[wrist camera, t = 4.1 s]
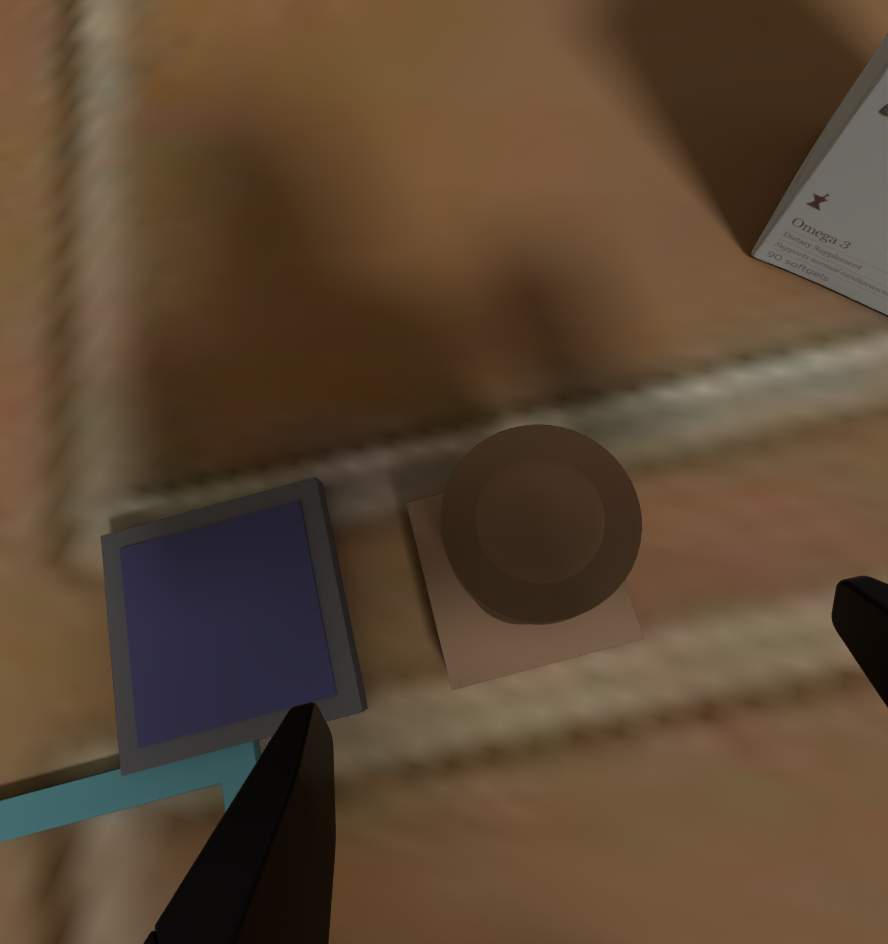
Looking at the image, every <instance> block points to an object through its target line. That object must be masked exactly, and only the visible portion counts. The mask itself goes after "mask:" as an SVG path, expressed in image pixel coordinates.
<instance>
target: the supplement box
mask: <svg viewBox="0 0 888 944" xmlns="http://www.w3.org/2000/svg"><path fill="white" fill-rule="evenodd" d="M751 255H752V256H753V257H755V258H757V259H760V260H762V261H765V262H767V263H770V264H773V265H776V266H778V267H781V268H783V269H785V270H788V271H790V272H793V273H795V274H797V275H800V276H802V277H805V278H807V279H809V280H811V281H814V282H816V283H818V284H821V285H823V286H825V287H827V288H829V289H832V290H834V291H836V292H838V293H840V294H843V295H845V296H847V297H849V298H851V299H853V300H855V301H858V302H860V303H862V304H864V305H866V306H868V307H870V308H872V309H875V310H877V311H880V312H882V313H884V314H886V315H888V34H887V35H886V37H885V38H884V40H883V41H882V43H881V44H880V46H879V47H878V49H877V50H876V51H875V53H874V54H873V56H872V57H871V59H870V60H869V62H868V63H867V65H866V66H865V68H864V69H863V71H862V72H861V74H860V75H859V77H858V78H857V80H856V81H855V83H854V84H853V86H852V87H851V89H850V90H849V92H848V93H847V95H846V96H845V98H844V99H843V101H842V102H841V104H840V105H839V107H838V108H837V110H836V111H835V113H834V114H833V116H832V117H831V119H830V121H829V122H828V124H827V125H826V127H825V128H824V130H823V132H822V133H821V135H820V136H819V138H818V139H817V141H816V143H815V144H814V146H813V147H812V149H811V151H810V152H809V154H808V156H807V157H806V159H805V160H804V162H803V164H802V165H801V167H800V169H799V170H798V172H797V174H796V175H795V177H794V179H793V180H792V182H791V184H790V185H789V187H788V189H787V191H786V192H785V194H784V196H783V198H782V199H781V201H780V203H779V204H778V206H777V208H776V210H775V211H774V213H773V215H772V217H771V218H770V220H769V222H768V223H767V225H766V227H765V229H764V230H763V232H762V234H761V236H760V237H759V239H758V241H757V243H756V244H755V246H754V248H753V250H752V252H751Z"/></svg>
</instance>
